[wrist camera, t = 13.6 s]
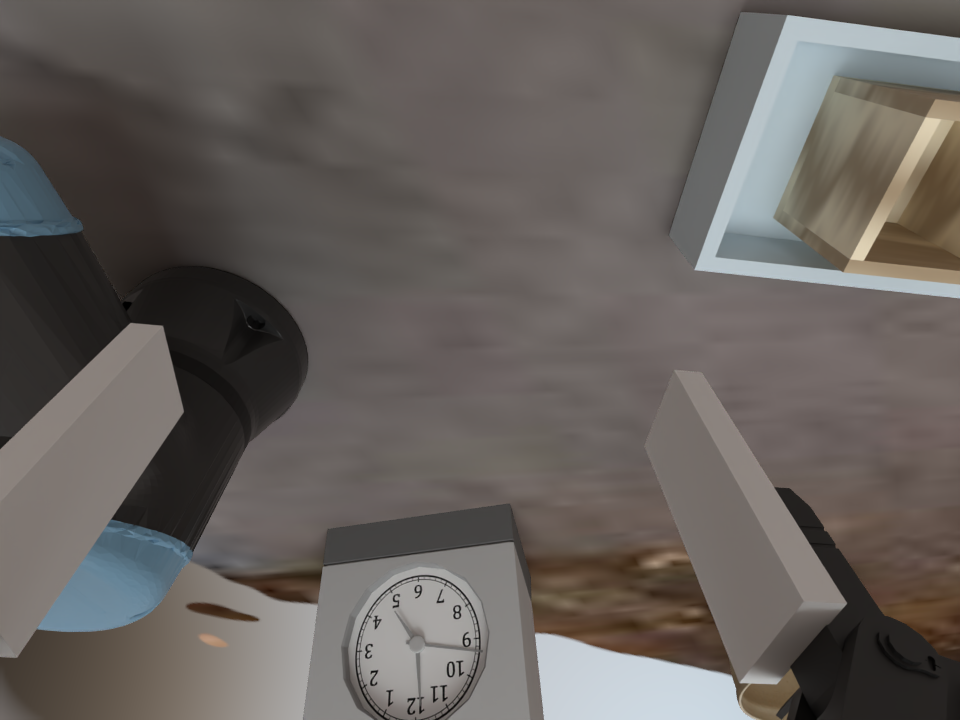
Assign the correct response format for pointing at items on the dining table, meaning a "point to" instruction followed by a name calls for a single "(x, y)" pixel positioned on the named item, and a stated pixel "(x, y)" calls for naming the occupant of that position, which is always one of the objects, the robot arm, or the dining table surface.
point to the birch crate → (880, 181)
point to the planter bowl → (764, 696)
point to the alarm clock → (425, 622)
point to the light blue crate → (788, 140)
